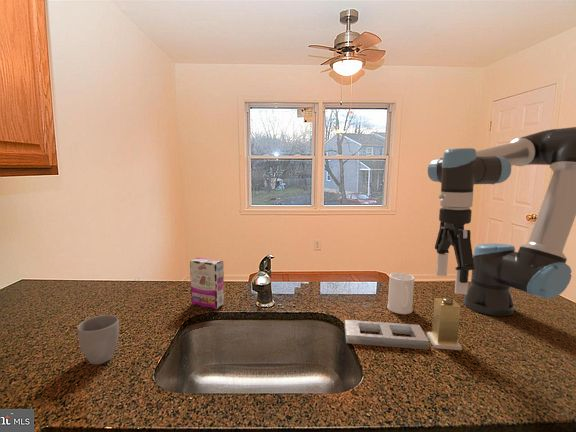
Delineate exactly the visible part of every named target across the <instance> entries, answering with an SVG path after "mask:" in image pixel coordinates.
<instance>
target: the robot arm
mask: <svg viewBox="0 0 576 432" xmlns="http://www.w3.org/2000/svg"><path fill="white" fill-rule="evenodd" d="M442 156H443V157H440V158H435V159H433V160H432V161H430V163H429V164H428V166H427V176H428V178H429V179H430V181H432V182H437V183H439V184H441V185H440V186H441V187H440V194H439V195H438V199H439V200H440V201H439V205H440V206H441V208H439V215H438V219H439V220H438V221H439V222H440V223H439V228H438V229H439V231H438V233H437V237H436V240H435V241H436V242H435V245H434V249H435V250H436V253H437V256H436V257H437V259H436V274H435V275H436V276H440V277H447V276H448V275H447V274H448V262H449V253H450V251H449V249H450V247H451V246H452V247H453V250H454V254H455V255H454V256H455V260H456V263H457V266H456V267H455V282H454V294H456V295H464V296H463V304H464V305H465V306H466V307H467V308H468V309H470V310H472V311H476V312H478V313H480V314H484V315H489V316H493V317H494V316H497V317H508V316H511V315H513V314H514V311H515V310H514V309H515V305H514V302H513V298H512V293H511V290H510V289H511V288H512V289H515V290H519V291H521V292H524V293H527V294H529V295H531V296H535V297H540V298H543V299H554V298H556V297H558V296H560V295H561V294H562V293H564V292H565V290H566V289H567V288H568V286H569V284H570V282H571V279H572V274H571V273H572V271H573V270H572V269H571V268H572V267H570V265H568V264H567V261H568V258H567V257H566V255H565V253H564V252H563V251H564V249H565V246H566V243H567V240H568V238H569V235H570V232H571V230H572V227H573V225H574V222H575V218H576V126H575V127H574V126H573V127H564V128H552V129H547V130H542V131H538V132H535V133H532V134H528V135H525V136H521V137H518V138H515V139H513V140H511V141H510V142H508V143H505V144H501V145H497V146H493V147H489V148H484V149H480V150H476V149H475V148H471V147H465V148H463V147H462V148H461V147H459V148H450V149H446V150H445V151H444V152H443V155H442ZM530 165H531V166H533V165H535V166H536V165H539V166H540V165H542V166H549V168H550V169H551V170H552V172H553V173H552V176H551V178H550V181H549V184H548V187H547V190H546V192H545V194H544V197H543V200H542V203H541V206H540V209H539V212H538V214H537V215H536V219H535V223H534V225H533V228H532V231H531V232H530V236H529V238H528V241H527V243H524V244H523V245H522V244H521V245H520V246H519V248H518V251H516V248H515V245H513V244H508V243H507V244H506V243H481V244H477V245H476V246H475V247H474V251H473V250H472V249H473V248H472V241H471V233H472V232H471V230H470V229H465V225H466V224H467V225H468V224H470V223H472V222H471V221H472V210H471V208H472V207H473V201H474V186H475V185H497V184H502V183H503V182H506V181H507V180H509V178H510V176H511V173H512V167H513V166H516V167H524V166H530ZM470 271H471V279H470V284H469V274H470Z"/></svg>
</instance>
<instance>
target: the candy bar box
mask: <svg viewBox="0 0 576 432" xmlns="http://www.w3.org/2000/svg"><path fill="white" fill-rule="evenodd" d="M189 268H190V269H189V273H190V274H189V275H190V297H191V298H190V299H191V305H193V306H198V307H203V308H207V309H213V310H218V309H219V308H221V307H223V306H224V305H225V284H224V283H225V281H224V280H225V279H224V260H221V259H211V258H206V257H205V258H204V257H196V258H194V259H192V260H190V261H189Z"/></svg>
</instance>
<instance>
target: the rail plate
mask: <svg viewBox="0 0 576 432" xmlns="http://www.w3.org/2000/svg"><path fill="white" fill-rule="evenodd" d="M361 331H362V332H373V334H372V333H361ZM374 332H375V333H378V334H374ZM344 334H345V342H346V343H345V344H350V345H352V344H353V345H364V346H377V347H390V348H403V349H417V350H429V346H430V339H429V338H428V336H427V334H426V333H425V332H424V330H423V328H422V327H421V325H420V324H415V323H414V324H412V323H411V324H409V323H399V322H398V323H397V322H383V321H371V320H370V321H368V320H367V321H366V320H357V319H356V320H355V319H344ZM394 334H398V335H399V334H400V335H399V336H398V335H394ZM401 334H402V335H410V336H401Z"/></svg>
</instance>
